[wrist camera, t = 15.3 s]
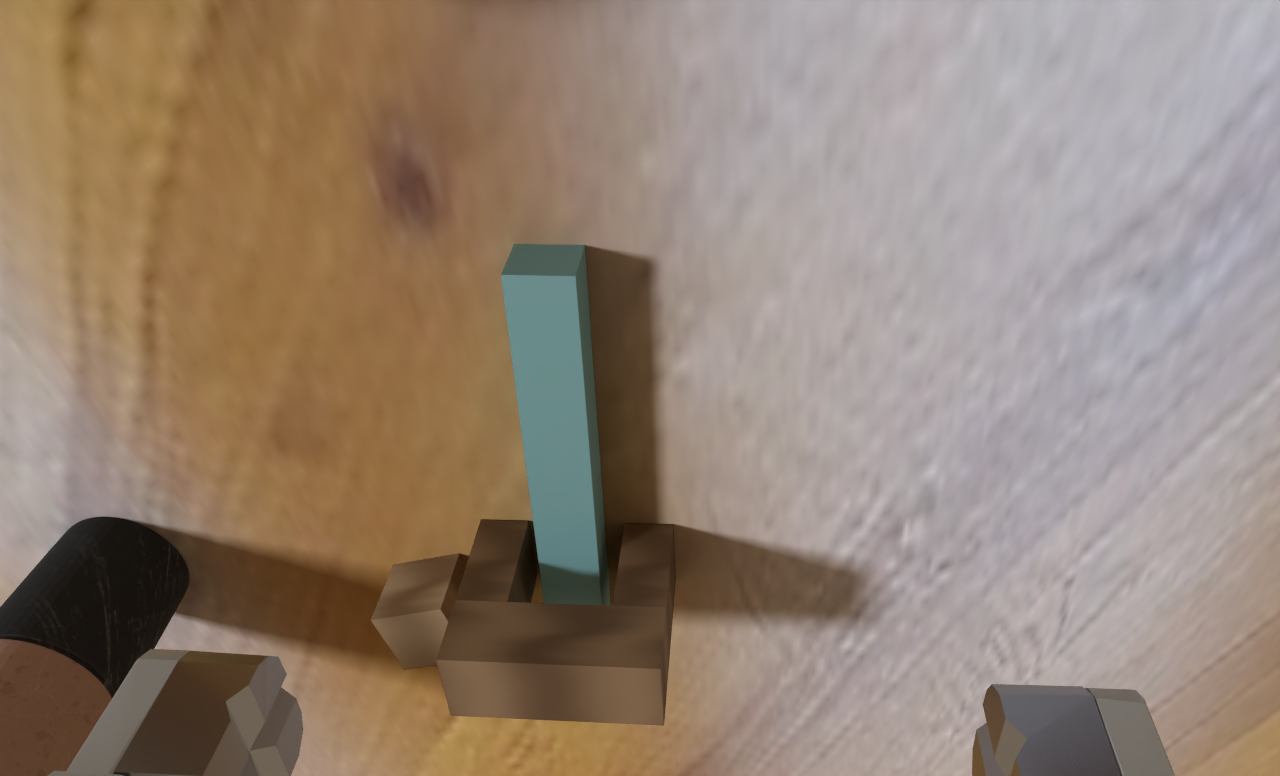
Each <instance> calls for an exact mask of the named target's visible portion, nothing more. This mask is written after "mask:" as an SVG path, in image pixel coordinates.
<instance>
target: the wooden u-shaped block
mask: <svg viewBox="0 0 1280 776" xmlns="http://www.w3.org/2000/svg"><path fill="white" fill-rule="evenodd" d="M536 577H537V572H536V566H535V560H534V553H533V547H532V541H531V535H530V528H529V522H528V521H510V520H481V521H480V524H479V527H478V531H477V534H476V537H475V540H474V543H473V546H472V549H471V552H470V556H469V559H468V562H467V565H466V568H465V571H464V574H463V577H462V581H461V584H460V587H459V590H458V593H457V596H456V599H455V602H454V606H453V609H452V612H451V615H450V618H449V621H448V624H447V627H446V631H445V634H444V637H443V640H442V643H441V646H440V649H439V652H438V656H437V659H436V661H437V665H438V669H439V673H440V676H441V680H442V684H443V688H444V692H445V695H446V699H447V703H448V707H449V711H450V714H451V716H471V717H493V718H514V719H536V720H557V721H579V722H600V723H621V724H643V725H664V718H665V706H666V693H667V681H668V668H669V656H670V643H671V631H672V619H673V606H674V594H675V581H676V577H675V552H674V528H673V525H666V524H627V523H625V524H624V530H623V537H622V544H621V551H620V558H619V564H618V571H617V578H616V585H615V592H614V598H613V605H583V604H553V603H531V598H532V594H533V590H534V586H535V582H536Z"/></svg>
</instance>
